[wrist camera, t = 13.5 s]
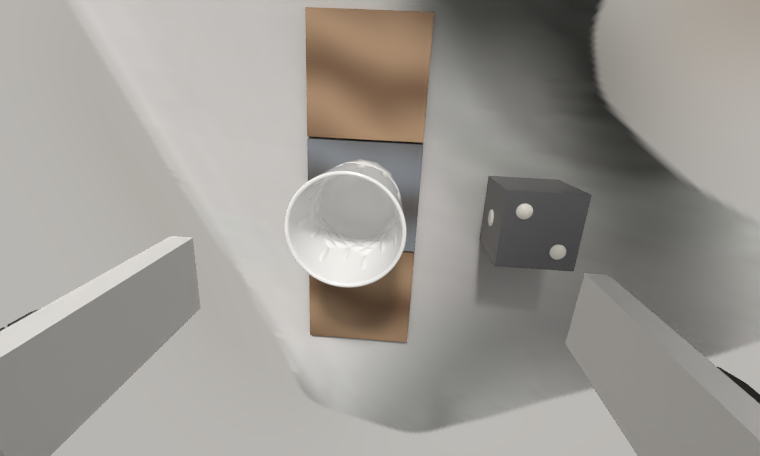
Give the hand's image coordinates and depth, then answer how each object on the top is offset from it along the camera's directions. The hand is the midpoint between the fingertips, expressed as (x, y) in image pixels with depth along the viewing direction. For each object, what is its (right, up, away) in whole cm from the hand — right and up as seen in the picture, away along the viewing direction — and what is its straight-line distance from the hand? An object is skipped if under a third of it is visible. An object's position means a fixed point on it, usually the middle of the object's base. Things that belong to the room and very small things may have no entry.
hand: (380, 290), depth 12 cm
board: (-2, +5, +21) cm, 22 cm away
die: (+12, +4, +20) cm, 24 cm away
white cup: (-2, +5, +21) cm, 21 cm away
